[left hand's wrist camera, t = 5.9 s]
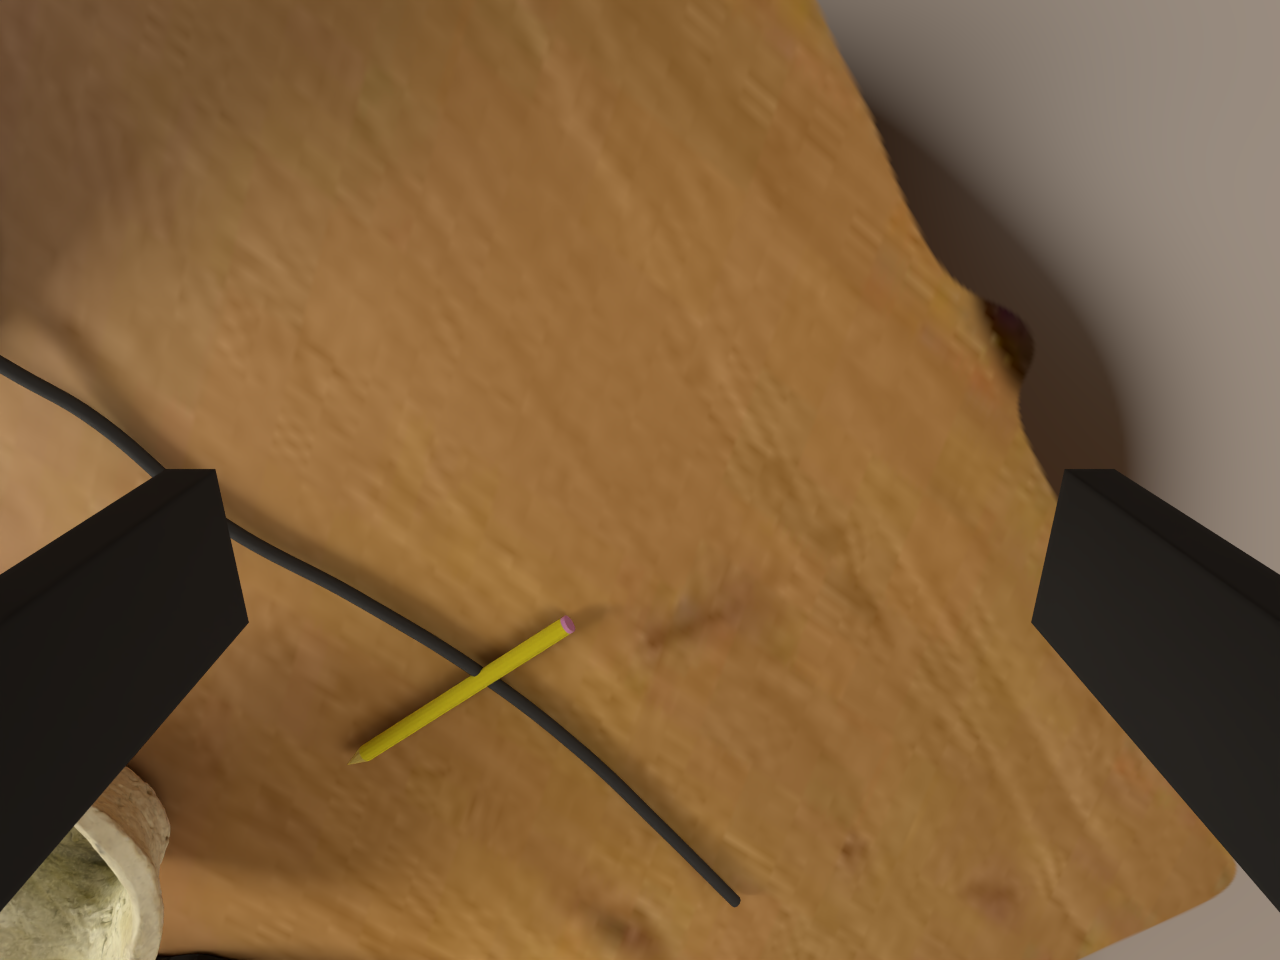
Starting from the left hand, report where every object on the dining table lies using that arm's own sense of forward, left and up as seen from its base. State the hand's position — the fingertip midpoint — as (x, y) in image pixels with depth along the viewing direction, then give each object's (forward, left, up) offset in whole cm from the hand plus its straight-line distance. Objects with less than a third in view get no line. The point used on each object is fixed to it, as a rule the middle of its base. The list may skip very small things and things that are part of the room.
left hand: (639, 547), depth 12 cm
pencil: (-16, +18, -26) cm, 36 cm away
